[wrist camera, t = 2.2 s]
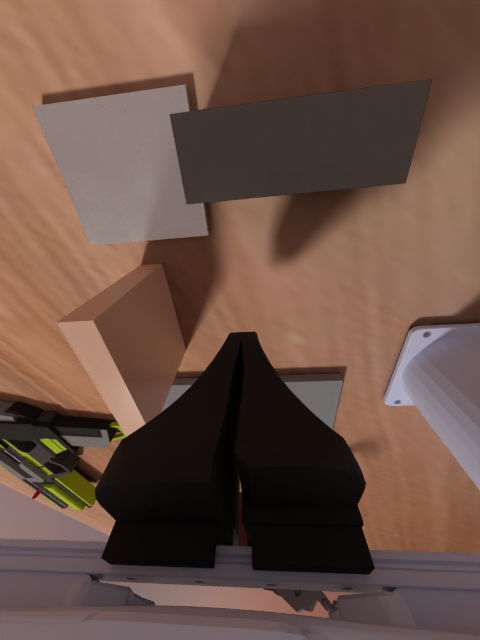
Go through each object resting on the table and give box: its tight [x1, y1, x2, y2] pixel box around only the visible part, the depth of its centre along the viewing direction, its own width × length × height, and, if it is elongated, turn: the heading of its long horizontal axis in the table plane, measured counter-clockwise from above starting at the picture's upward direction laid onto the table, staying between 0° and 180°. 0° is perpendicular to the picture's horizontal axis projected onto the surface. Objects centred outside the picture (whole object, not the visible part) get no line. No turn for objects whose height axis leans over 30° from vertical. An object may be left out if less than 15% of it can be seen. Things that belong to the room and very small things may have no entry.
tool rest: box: [161, 373, 343, 429], centre depth 20 cm, size 18×9×1 cm, turn 95°
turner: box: [32, 79, 432, 245], centre depth 9 cm, size 15×6×4 cm, turn 95°
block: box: [56, 263, 186, 436], centre depth 12 cm, size 2×7×7 cm, turn 5°
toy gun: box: [0, 401, 127, 511], centre depth 24 cm, size 20×4×15 cm
